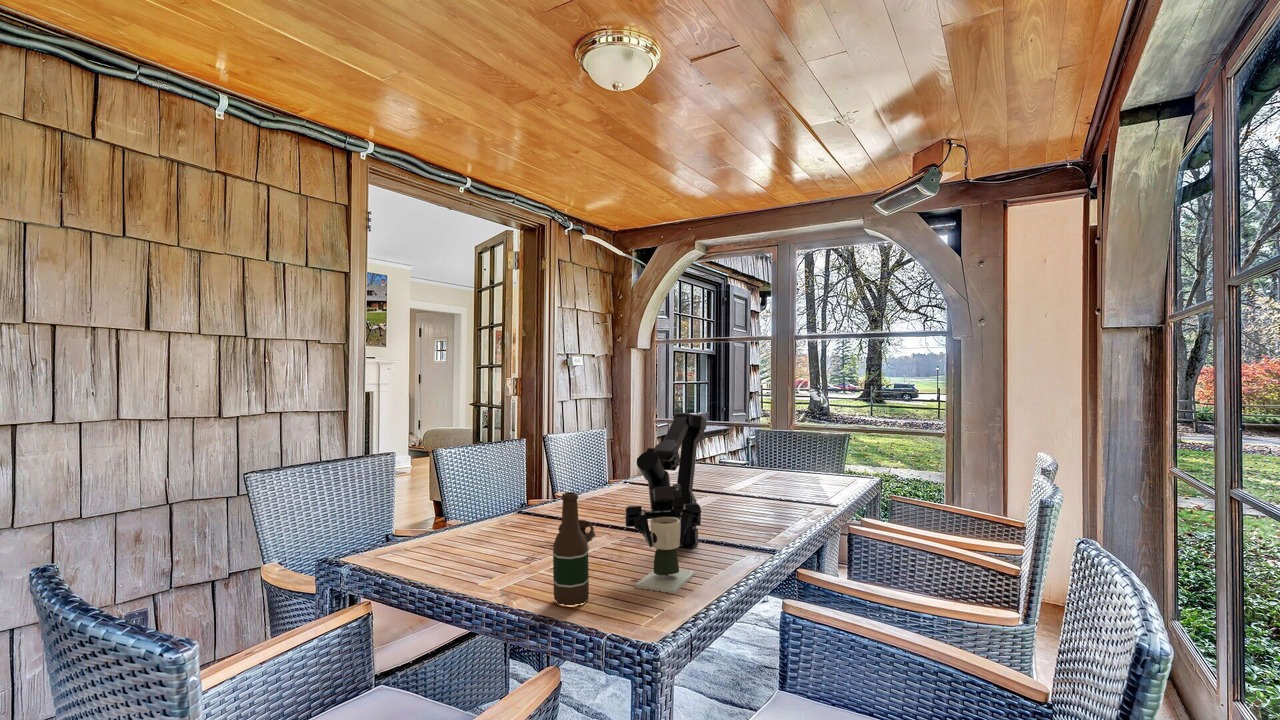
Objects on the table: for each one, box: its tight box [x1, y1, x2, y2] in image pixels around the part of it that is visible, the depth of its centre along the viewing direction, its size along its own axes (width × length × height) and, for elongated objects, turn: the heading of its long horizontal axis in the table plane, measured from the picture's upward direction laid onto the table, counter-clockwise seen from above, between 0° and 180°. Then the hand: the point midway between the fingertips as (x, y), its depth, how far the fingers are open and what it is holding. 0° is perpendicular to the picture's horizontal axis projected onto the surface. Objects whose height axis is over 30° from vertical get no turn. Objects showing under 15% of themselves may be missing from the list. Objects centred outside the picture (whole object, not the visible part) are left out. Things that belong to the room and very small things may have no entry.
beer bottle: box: [552, 491, 590, 605], centre depth 132 cm, size 8×8×24 cm
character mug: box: [650, 517, 680, 576], centre depth 144 cm, size 11×7×13 cm, turn 2°
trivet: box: [634, 568, 696, 594], centre depth 144 cm, size 10×14×1 cm
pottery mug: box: [558, 519, 597, 544], centre depth 176 cm, size 12×10×8 cm
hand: (666, 546), depth 143 cm, fingers closed on character mug, 7 cm apart
